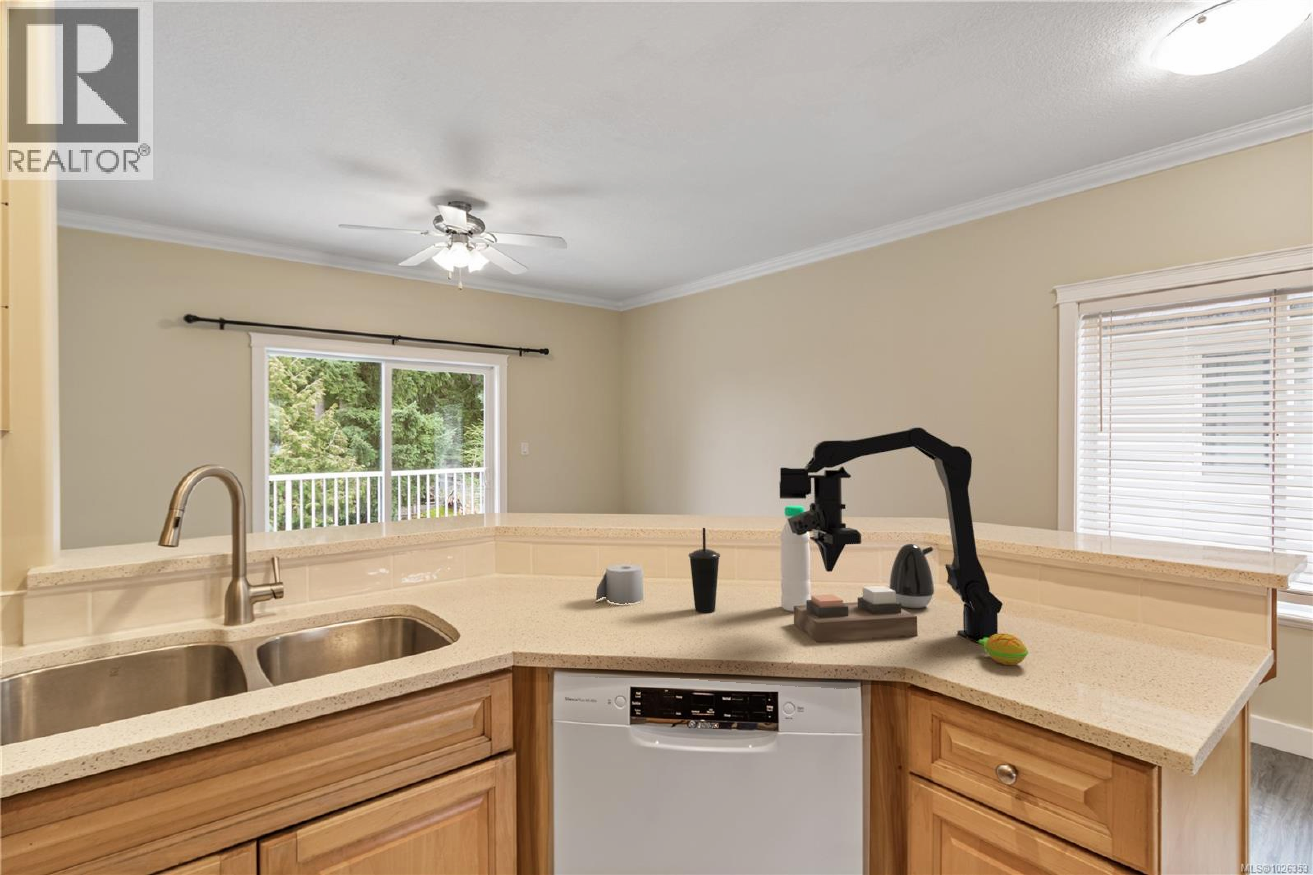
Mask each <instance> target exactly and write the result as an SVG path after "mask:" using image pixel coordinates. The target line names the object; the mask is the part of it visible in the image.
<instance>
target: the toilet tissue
mask: <svg viewBox="0 0 1313 875" xmlns="http://www.w3.org/2000/svg"><path fill="white" fill-rule="evenodd" d="M643 570H644V567H643V566H641V565H639V564H633V563H623V564H621V563H620V564H613V565H609V566H607V567H606V568H605V573H604V575H603V576H602V579H601V580H600V582H599V584H598V585H597V588H596V596H595V601H596V600H598V599H600V598H602V597H606V599H607V600H609V601H610V602H614V603H619V604H625V603H627V604H628V603H635V602H638V601H641V600H642V599H643V600H644V571H643ZM607 600H606V601H607Z"/></svg>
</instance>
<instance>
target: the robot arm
mask: <svg viewBox="0 0 1313 875" xmlns="http://www.w3.org/2000/svg"><path fill="white" fill-rule="evenodd" d="M907 448H915V449H916V450H918V451H919V452H920V453H922V454H923V455H924V456H926V457H927V458H929V459H930V460H932V461H933V463H934V465H935V469H936V472H937V475H938V477H939V480H940V481H941V483H942V486H943V488H944V491H945V498H946V507H947V513H948V521H949V529H950V536H951V543H952V544H951V545H952V550H953V551H952V552H953V559H952V563H946V564H945V565H944V566H945V570H946V572H947V580H946V582H947V584H948V585H949V586H951V589H952V590H953V591H954V592H955V594H957V595H958V596H960V599H961V602H963V610H962V611H963V612H962V620H963V621H962V623H963V624H962V625H963V626H962V627H963V628H962V629H961V630H960V629H959V630H957V634H958V635H961V636H963V637H965V638H967V639H969V640H971V641H973V642H975V643H979V642H978V641H979V640H983V638H985V637H986V638H990V637H991V636H992V635H994V634H998V633H999V632H998V630H999V629H998V627H999V626H998V625H999V624H998V622H999V621H998V614H1000V612H1001V609H1002V607H1003V605H1004V604H1003V602H1002V601H1001V600H999V598H998V597H996V596H995V595H994V594H993V593H992V592H991V591H990V589H991V588H990V585H989V582H988V578H987V576H986V573H985V570H984V569H983V566H982V565H981V562H980V560H979V557H978V555H977V554H978V553H977V552H978V551H977V546H976V540H975V532H974V530H975V529H974V526H973V525H974V524H973V517H972V516H973V515H972V511H971V510H972V509H971V502H970V496H969V486H970V481H971V477H972V466H973V465H972V464H973V463H972V462H973V458H972V455H971V453H970V451H969V450H968V449H966V448H964V447H962V446H959V445H958V446H957V445H951V444H949V443H948V442H946V441H945V440H943V439H941V438H939V437H937V436H935V435H934V434H931V433H930V432H928V431H927V430H926V429H924V428H922V427H911V428H909V429H907V430H901V431H895V432H890V433H885V434H880V435H874V436H870V437H864V438H859V439H851V440H850V439H847V440H845V439H841V440H823V441H819V442H817V444H816V445H815V446H814V448H813V451H812V457H811V459H810V460H809V461H808V463H806V466H805V467H803V468H802V467H801V468H800V467H799V468H798V467H797V468H795V467H794V468H791V467H780V468H779V470H780V471H779V472H780V477H779V478H780V480H779V484H778V485H779V500H781V499H782V500H785V499H787V500H789V499H793V500H794V499H795V500H797V499H798V500H799V499H800V500H803V499H804V500H805V499H807V496H809V495H811V494H812V479H813V494H814V496H813V502H810V504H809V509H808V510H807V511H805V512H803V513H801V514H798V515H796V516H793V517H791V518H789V519H788V522H789V525H790V527H791V530H792V533H796V534H797V535H803V534H805V533H807V532H809V533H810V532H812V536H810V540H811V541H813V542H814V543H815V544H816V546H818V549H819V552H820V555H821V558H822V562H823V566H824V569H825V571H826V572H828V573H830V572H833V570H834V568H835V566H836V564H837V562H838V560H839V558H840V555H841V553H842V552H843V550H844V548H845V546H846V545H860V544H862V533H861V532H860V531H858V529H855V528H852V527H847V523H845V522H843V510H846V503H843V500H842V496H843V495H842V479H850V478H851V476H852V475H851V474H850V473H849V472H848V471H846V468H845V467H844V466H840V465H843V464H845V463H848V462H850V461H853V460H854V459H857V458H860V457H864V456H869V455H871V456H872V455H876V454H881V453H886V452H893V451H897V450H902V449H903V450H904V449H907ZM837 466H840V467H839V468H838V469H832V468H835V467H837ZM825 468H826V469H825ZM827 468H830V469H827ZM823 469H825V470H823ZM821 470H823V474H817V473H818V472H820V471H821ZM814 473H815V474H814Z"/></svg>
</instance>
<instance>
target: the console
mask: <svg viewBox="0 0 1313 875" xmlns="http://www.w3.org/2000/svg"><path fill="white" fill-rule="evenodd" d="M793 625H794V626H796V627H798V628H799V629H800V630H801V631H803V632H804V633H805V634H807V635H808V637H810V638H811V639H813V640H814V641H815V642H816V643H826V642H828V641H829V642H840V641H842V642H843V641H856V640H871V639H872V638H875V639H887V638H886V637H890V638H900V637H899V636H905V637H915V636H916V637H917V636H918V616H917V615H916V614H915V615H914V613H910V612H909V611H907V610H905V609H903V608H902V606H901V603H899V602H897V601H896V603H888V604H872V603H870V602H868V601H866V600H864V599H863V596H858V597H857V601H854V602H843V606H836V607H819V606H817V605H815V604H814V603H812V602H811V600H806V605H800V606H794V612H793ZM872 640H873V639H872Z"/></svg>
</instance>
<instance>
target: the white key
mask: <svg viewBox="0 0 1313 875" xmlns="http://www.w3.org/2000/svg"><path fill="white" fill-rule="evenodd" d="M862 597H863V599H864V600H866V601H868V602H870V603H872V604H888V603H896V591H894V590H892V589H889V587H887V586H885V585H876V586H875V585H874V586H862Z"/></svg>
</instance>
